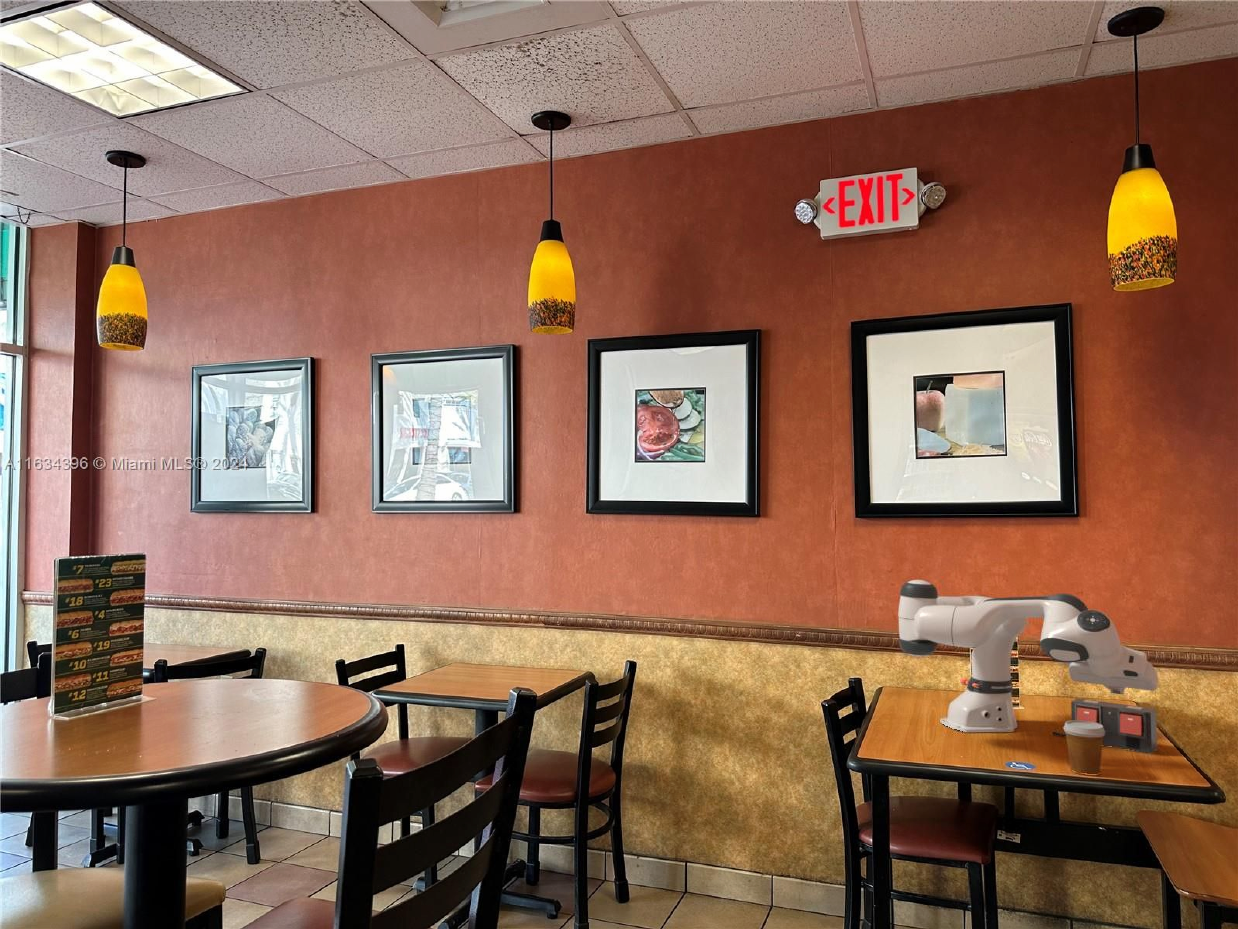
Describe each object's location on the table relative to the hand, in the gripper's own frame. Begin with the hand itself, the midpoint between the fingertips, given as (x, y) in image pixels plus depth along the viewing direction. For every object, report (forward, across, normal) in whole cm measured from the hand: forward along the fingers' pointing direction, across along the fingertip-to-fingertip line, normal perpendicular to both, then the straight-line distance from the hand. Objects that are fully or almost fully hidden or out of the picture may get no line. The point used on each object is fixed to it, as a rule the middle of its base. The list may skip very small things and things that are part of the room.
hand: (1118, 691), depth 231 cm
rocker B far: (+18, 0, -1) cm, 18 cm away
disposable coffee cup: (+3, -5, -24) cm, 24 cm away
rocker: (+18, -11, -1) cm, 21 cm away
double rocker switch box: (+25, -9, -1) cm, 26 cm away
